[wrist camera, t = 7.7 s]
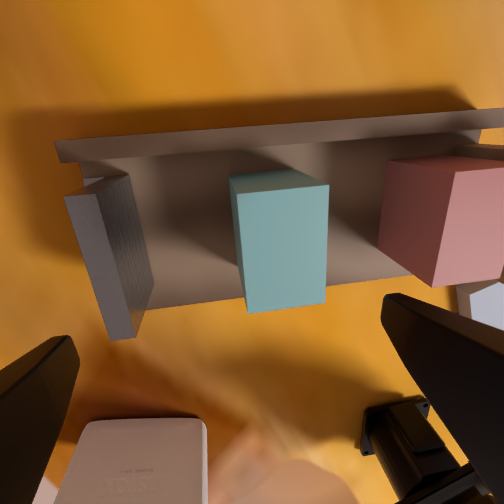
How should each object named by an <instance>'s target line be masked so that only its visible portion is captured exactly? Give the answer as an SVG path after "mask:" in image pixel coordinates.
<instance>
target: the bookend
mask: <svg viewBox="0 0 504 504" xmlns="http://www.w3.org/2000/svg"><path fill="white" fill-rule="evenodd" d="M83 183H84V186H85V187H83V188H81V189H79V190H77V191H75V192H73V193H71V194H68V195H66V196H64V197H63V198H64V201H65V204H66V207H67V210H68V213H69V216H70V219H71V222H72V225H73V228H74V231H75V235H76V238H77V241H78V244H79V247H80V250H81V253H82V256H83V259H84V262H85V265H86V268H87V271H88V274H89V277H90V280H91V283H92V286H93V290H94V293H95V296H96V299H97V302H98V305H99V308H100V311H101V314H102V317H103V320H104V323H105V326H106V329H107V332H108V335H109V338H110V341H114V340H122V339H129V338H136V336H137V333H138V330H139V327H140V324H141V321H142V319H143V316H144V313H145V310H146V307H147V304H148V301H149V298H150V295H151V292H152V289H153V286H154V279H153V275H152V270H151V266H150V262H149V257H148V253H147V249H146V244H145V240H144V235H143V231H142V227H141V222H140V218H139V214H138V209H137V205H136V201H135V196H134V192H133V187H132V183H131V179H130V174H126V175H114V176H102V177H91V178H83Z"/></svg>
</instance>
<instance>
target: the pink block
mask: <svg viewBox="0 0 504 504" xmlns="http://www.w3.org/2000/svg"><path fill="white" fill-rule="evenodd" d="M377 249H378V250H379V251H381V252H382V253H384V254H385V255H386V256H388V257H389V258H391V259H392V260H393V261H395V262H396V263H398V264H399V265H400V266H402V267H403V268H405V269H406V270H408V271H409V272H410V273H412V274H413V275H415V276H416V277H417V278H419V279H420V280H422V281H423V282H424V283H426V284H427V285H429V286H430V287H431V288H434V287H441V286H448V285H455V284H462V283H470V282H477V281H484V280H491V279H498V278H500V276H501V272H502V269H503V266H504V161H498V160H489V159H480V158H471V157H462V156H453V155H438V156H427V157H416V158H405V159H394V160H387V165H386V173H385V182H384V191H383V200H382V209H381V218H380V227H379V236H378V244H377Z"/></svg>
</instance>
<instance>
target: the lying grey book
mask: <svg viewBox="0 0 504 504" xmlns="http://www.w3.org/2000/svg"><path fill="white" fill-rule="evenodd" d="M456 294H457V302H458V310H459V315H462V316H465V317H468V318H470V319H473V320H476V321H479V322H481V323H484V324H487V325H490V326H493V327H495V328H498V329H501V330H504V284H502V283H500V282H498V281H497V280H495V279H491V280H484V281H477V282H470V283H462V284H459V285H457V286H456Z"/></svg>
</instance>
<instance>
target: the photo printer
mask: <svg viewBox="0 0 504 504" xmlns="http://www.w3.org/2000/svg"><path fill="white" fill-rule="evenodd" d="M207 486H208V485H207V429H206V426H205V424H204V423H203V421H202V420H200V419H196V418H143V419H116V420H101V421H93V422H90V423H88V424H87V425H86V427H85V428H84V430H83V431H82V434H81V436H80V438H79V441H78V443H77V446H76V448H75V451H74V453H73V456H72V458H71V461H70V463H69V466H68V468H67V471H66V474H65V476H64V479H63V481H62V484H61V486H60V489H59V491H58V494H57V496H56V499H55V501H54V504H208V497H207Z"/></svg>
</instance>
